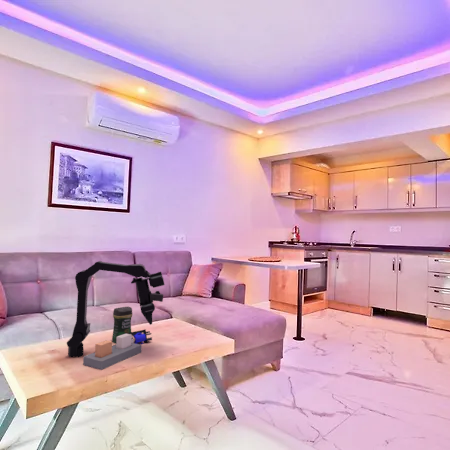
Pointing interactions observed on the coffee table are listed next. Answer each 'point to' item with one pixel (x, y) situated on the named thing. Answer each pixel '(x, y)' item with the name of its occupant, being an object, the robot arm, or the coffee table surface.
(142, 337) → the character figurine
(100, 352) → the terracotta plug
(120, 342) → the pale pink plug
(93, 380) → the coffee table surface
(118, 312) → the coffee jar
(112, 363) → the header
